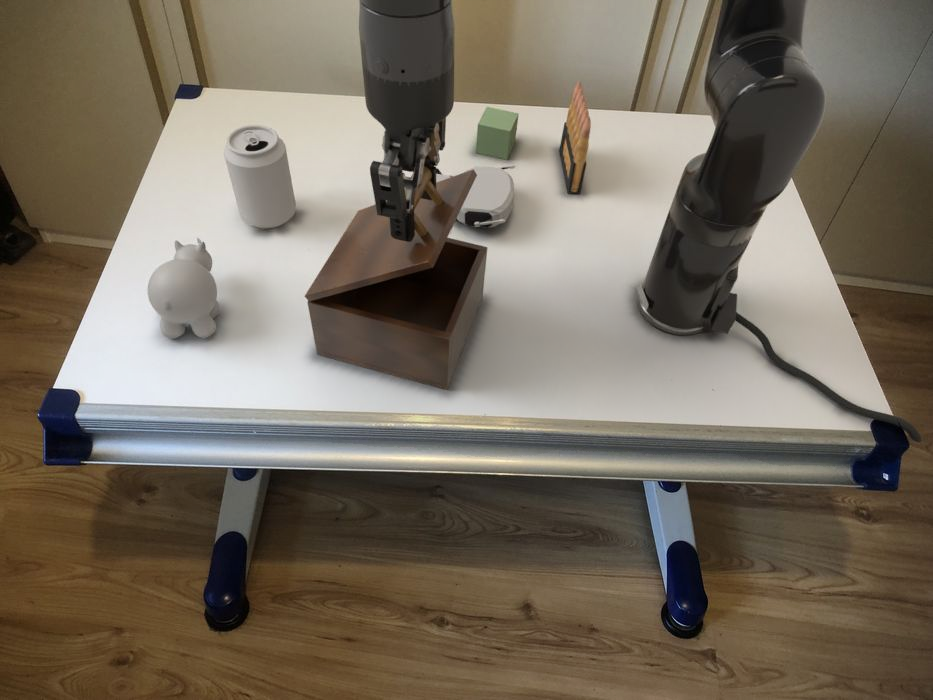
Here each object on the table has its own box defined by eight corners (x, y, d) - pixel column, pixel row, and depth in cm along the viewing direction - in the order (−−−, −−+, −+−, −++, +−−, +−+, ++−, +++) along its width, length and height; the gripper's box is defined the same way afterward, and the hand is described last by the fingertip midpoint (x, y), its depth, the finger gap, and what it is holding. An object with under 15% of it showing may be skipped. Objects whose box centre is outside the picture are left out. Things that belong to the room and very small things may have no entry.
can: (255, 239, 90) (236, 162, 81) (231, 208, 94) (210, 131, 84) (306, 219, 93) (294, 143, 84) (281, 190, 97) (266, 113, 87)
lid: (477, 175, 71) (452, 134, 69) (433, 267, 62) (402, 224, 60) (361, 215, 81) (335, 181, 78) (308, 301, 72) (276, 265, 69)
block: (515, 141, 107) (518, 113, 103) (507, 160, 104) (510, 131, 100) (484, 135, 108) (486, 106, 104) (475, 153, 105) (477, 124, 101)
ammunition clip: (580, 194, 100) (596, 120, 90) (567, 194, 99) (582, 120, 90) (570, 150, 106) (585, 77, 97) (558, 150, 106) (572, 77, 97)
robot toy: (398, 234, 93) (508, 244, 91) (395, 208, 90) (509, 217, 88) (416, 179, 101) (518, 187, 99) (414, 153, 97) (519, 161, 96)
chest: (482, 299, 85) (487, 246, 78) (446, 390, 76) (449, 339, 69) (364, 270, 87) (360, 216, 81) (316, 354, 78) (307, 302, 72)
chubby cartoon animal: (240, 272, 86) (225, 219, 80) (217, 345, 78) (198, 294, 72) (182, 269, 86) (162, 216, 79) (153, 343, 78) (129, 291, 72)
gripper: (423, 109, 50) (427, 273, 63) (477, 22, 59) (470, 181, 72) (328, 91, 52) (351, 255, 65) (395, 8, 60) (403, 168, 73)
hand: (414, 216), depth 68 cm, fingers closed on lid, 6 cm apart
